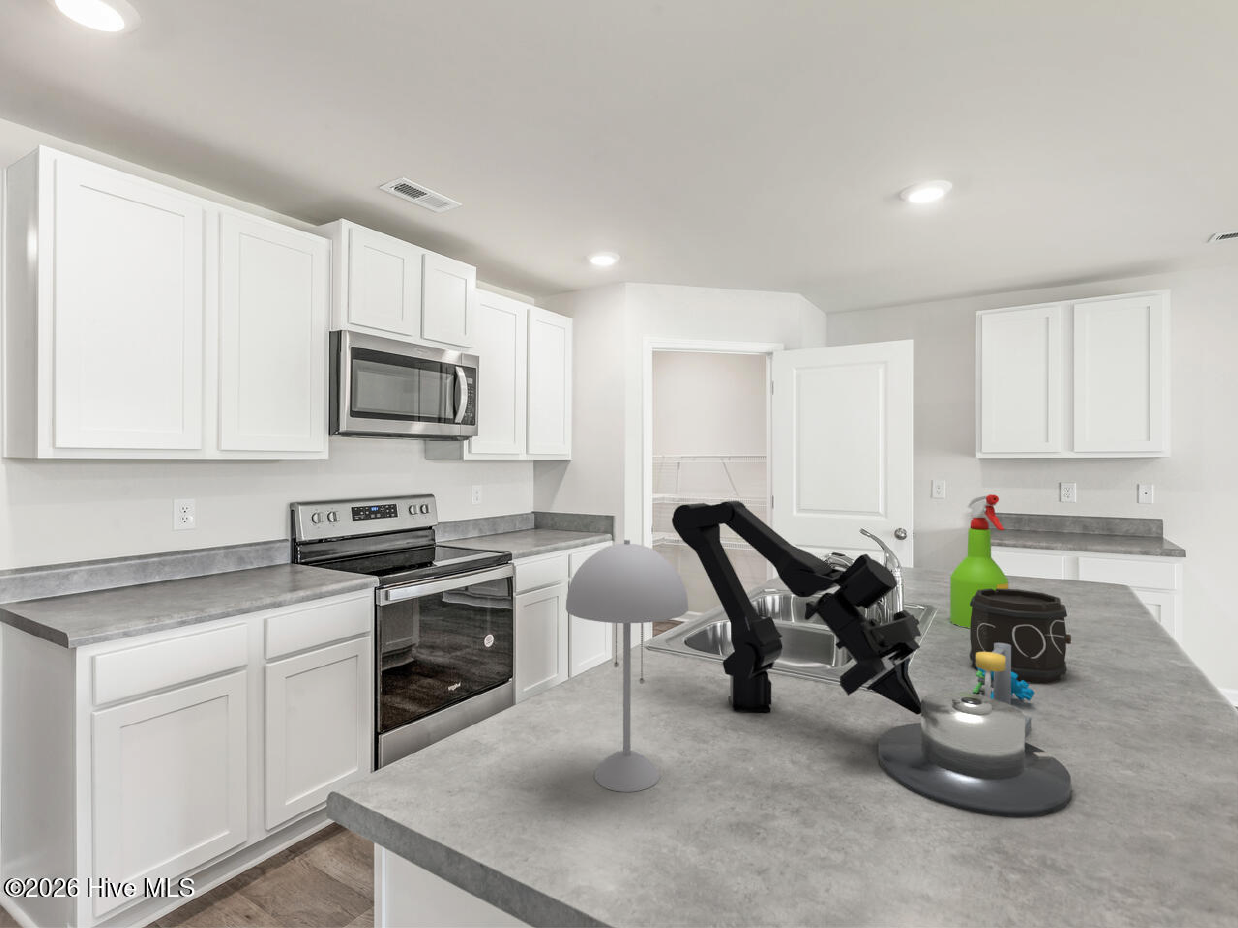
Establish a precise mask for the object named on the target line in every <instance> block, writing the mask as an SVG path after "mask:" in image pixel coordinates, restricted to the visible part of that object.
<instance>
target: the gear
mask: <svg viewBox="0 0 1238 928" xmlns="http://www.w3.org/2000/svg"><path fill="white" fill-rule="evenodd" d="M976 669H977V671H976V673H975V674H974V675H975V677H977V680H976V681H977V684H976V686H975V687H974V689H973V691H972V692H973V694H976V695H978V692H979V691H980V690H981V688H982V686H983V687H985V670H984V669H981V668H978V667H977V668H976ZM1017 677H1018V675H1017V674H1016V673H1014V672H1012V671H1011V696H1013V695H1014V696H1016V698H1017V699H1019V700H1021V701H1022V700H1024V699H1026V700H1027V701H1029V702H1030V701H1031V700H1032V698H1033V696H1034V695H1035V694H1036V693H1035V691H1034V690H1033V689H1032V688H1030V684H1029V683H1028V682H1025V681H1023V680H1022V681H1021V682H1019V681H1017V680H1016V678H1017ZM991 688H992V689H993V690H992V691H991V698H993V699H994V671H991Z"/></svg>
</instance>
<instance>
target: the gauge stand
mask: <svg viewBox="0 0 1238 928" xmlns="http://www.w3.org/2000/svg"><path fill="white" fill-rule="evenodd" d="M976 666H977V667H978V668H981V669H984V670H985V686H984V696H985V697H989V698H991V693H992V689H991V671H994V688H993V690H994V699H996V700H1000V701H1002V702H1005V703H1007V704H1010V705H1011V704H1012V703H1011V699H1012V697H1011V696H1012V695H1011V645H1009V644H1006V643H994V651H992V652H977V653H976ZM1024 716H1025V738H1027V736H1028V735H1029V733H1030V732H1031V731H1032V717H1031V716H1028V715H1024Z"/></svg>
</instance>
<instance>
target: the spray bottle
mask: <svg viewBox="0 0 1238 928" xmlns="http://www.w3.org/2000/svg"><path fill="white" fill-rule="evenodd" d="M999 501H1000V497H999V496H998V495H996V494H992V493H991V494H984V495H979V496H976V497H974V498H973V499H971V501H969V503H968V505H967V508H969V509H971V518H972V519H971V521H970V528H968V533H967V534H968V537H967V538H968V539H967V555H966V556H965V558H964V559H962V561H960V563H958V565H957V566H956V567H955V569H954V570H953V572H952V573H951V574H950V583H949V584H950V585H949V587H950V595H949V598H950V599H949V600H950V602H949V605H950V606H949V607H950V608H949V616H950V617H949V622H950V621H951V622H952V623H954V624H957V625H960V626H964V627H969V628H970V624H971V615H972V607H971V606H970V603H971V600H972V598H973V596H975V595H976V592H977V590H982V589H993V590H994V591H995V590H996V589H1009V580H1008V578H1007V576H1006V575H1005V573H1004V571H1003V570H1002V569H1001V567H1000V566H999V564H997V562H996V561H995V560H994V558H993V557H992V535H991V534H992V531H991V530H992V529H990V527H989V526H990V524H989V521H990V522H991V523H992V524H993V526H994V527H995V528H996V529H997V530H999V531H1005V528H1004V526H1003V524H1002V523H1001V522H1000V519H999V518H998V516H996V509H995V506H997V504H998V503H999ZM987 519H988V520H989V521H988V520H987ZM951 622H950V623H951ZM952 623H951V624H952ZM954 624H953V625H954Z"/></svg>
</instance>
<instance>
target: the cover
mask: <svg viewBox="0 0 1238 928" xmlns="http://www.w3.org/2000/svg"><path fill="white" fill-rule="evenodd" d="M920 702H921V713H920V723H921V752H922V754H923V755H924V756H925V757H926V758H927V759H928V760H929V761H931V762H932V763H934V764H936V765H938V766H940V767H942V768H944V769H946V770H949V771H952V772H955V773H958V774H961V775H965V776H970V777H975V778H981V779H994V780H1000V779H1010V778H1014V777H1017V776H1019V775H1021V774H1022V773H1023V772H1024V769H1025V742H1026V737H1025V716H1026V715H1025V714H1024V713H1023V711H1021V710H1020V709H1019V708H1017V707H1015V706H1014V705H1010V704H1007V703H1005V702H1002V701H1000V700H996V699H993V698H989V697H985V695H980V694H975V693H968V692H959V691H957V692H956V691H939V692H938V691H937V692H933V693H928V694H925V695H924V696H923V697H922V698H921V699H920Z"/></svg>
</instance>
